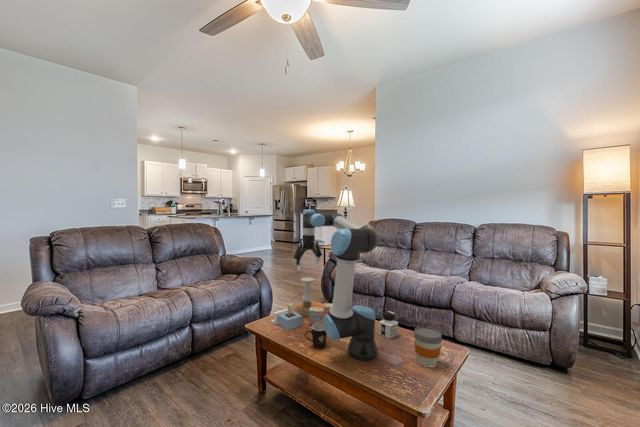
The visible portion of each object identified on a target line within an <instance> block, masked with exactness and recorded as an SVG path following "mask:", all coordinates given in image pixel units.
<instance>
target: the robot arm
mask: <svg viewBox="0 0 640 427" xmlns="http://www.w3.org/2000/svg"><path fill="white" fill-rule="evenodd" d="M322 227H334V228H336V229H337V230H336V231H335V232H333V234H332V236H331V240H330V250H331V253H333V254H334V257H335V259H336V260H337V261H336V269H335V270H336V271H335V278H334V279H335V280H334V290H333V300H332V304H333V306H332V307H330V309H329V314H328V315H327V314H326V315H325V316H324V318H323V324H324V328H325V331H326V334H327V337H328V338H329V339H330V340H331V341H332V340H333V341H335V340H338V341H339V340H341V339H345V338H349V337H350V339H349V342H348V345H347V354H348V355H349V356H350V357H351V358H353V359H354V360H358V361H365V362H366V361H372V360H374V359H376V358H378V353H379V350H378V347H377V344H376V338H375V337H376V336H375V335H376V334H375V333H376V320H377V319H376V312H375V310H374V309H373V308H371V307H369V306H365V305H361V304H360V305H359V304H356V305H353V306H352V298H353V291H354V290H353V288H354V280H355V272H356V271H355V270H356V264H357V262H359V261H360V257H361V254H367V253H371V252H372V251H374V250H375V249H376V248H377V246H378V243H379V236H378V233H377V232H376V231H375V229H373V228H371V227H369V226H366V225H364V226H362V225H360V224H358V223H356V222H355V221H352V220H350V219H348V218H346V216H345V214H344V213H316V210H315V209H303V211H302V242H301V243H300V242H298V246H297V247H296V248H297V249H296V251H295V253H294V256H293V259H294V260H296V262H295V263H296V266H297V268H296V269H297V271H299V272H300V271H301V270H302V260H301V258H302V257H303V255H304V254H305V252H307V251H309V250H311V251H312V253H313V254H314V268H319V262H320V258H321V257H322V256H323V254H322V251H321V248H320V246H319V242H318V241H315V236H316V235H315V234H316V228H322Z"/></svg>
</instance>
